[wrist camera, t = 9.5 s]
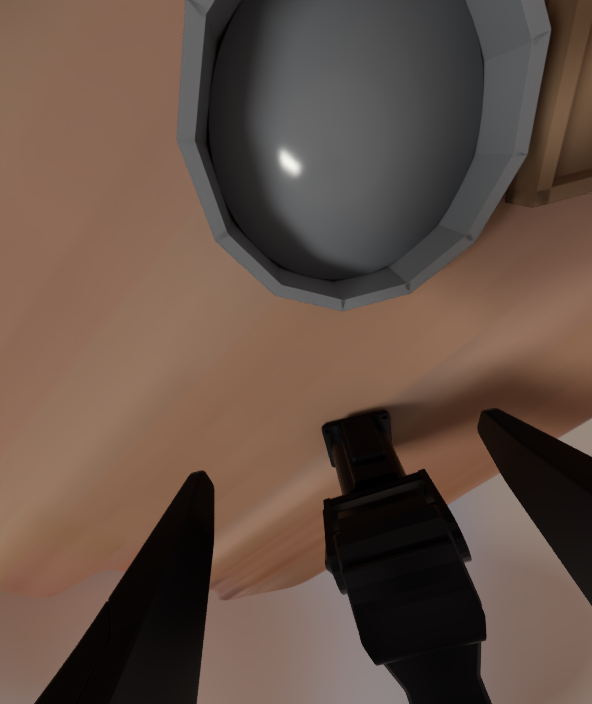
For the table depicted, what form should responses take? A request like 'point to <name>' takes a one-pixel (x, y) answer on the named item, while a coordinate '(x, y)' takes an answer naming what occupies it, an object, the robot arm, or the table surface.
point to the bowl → (356, 134)
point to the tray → (561, 113)
